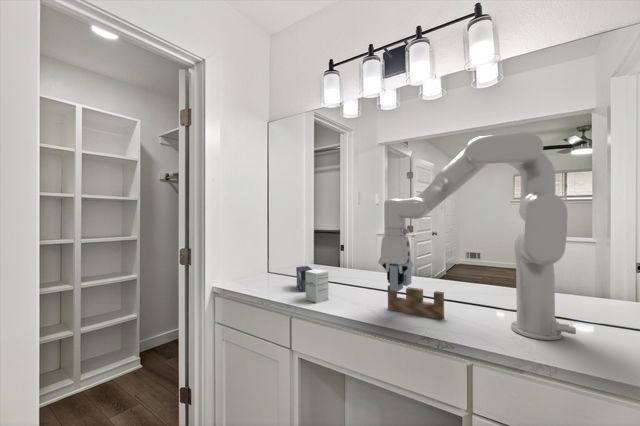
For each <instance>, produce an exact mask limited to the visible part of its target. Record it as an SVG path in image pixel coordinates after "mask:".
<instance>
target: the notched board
mask: <svg viewBox="0 0 640 426" xmlns="http://www.w3.org/2000/svg"><path fill="white" fill-rule="evenodd" d="M387 310H390V311H396V312H400V313H406V314H411V315H416V316H421V317H427V318H432V319H437V320H441V321H442V320H444V318H445V292H444V291H438V290H435V291H434V292H433V302H428V301H424V288H417V287H412V286H411V287H410V286H407V287H406V288H405V298H404V297H398V291H393V290H390V284H389V285H387Z"/></svg>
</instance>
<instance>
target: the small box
mask: <svg viewBox="0 0 640 426" xmlns="http://www.w3.org/2000/svg"><path fill="white" fill-rule="evenodd" d="M308 270H314V269H313V268H311V267H310V266H309V265H305V266H303V265H302V266H296V270H295V271H296V288H297V289H298V291H300V292H301V293H306V273H305V271H308Z"/></svg>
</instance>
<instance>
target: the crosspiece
mask: <svg viewBox="0 0 640 426" xmlns="http://www.w3.org/2000/svg"><path fill="white" fill-rule="evenodd" d="M406 265H408V263H407V264H405V266H406ZM398 273H399V266H398V264H392V265H390V283H389V285H390V290H393V291H397V292H399V291H401V290H403V289H404V286H405V287H409V285H411V284H412V267H411V268H408V269H407V270H406V271H405V272H404V282H403V283H402V284H400V285H399V284H398Z"/></svg>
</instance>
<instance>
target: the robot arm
mask: <svg viewBox="0 0 640 426" xmlns="http://www.w3.org/2000/svg"><path fill="white" fill-rule="evenodd" d="M543 150H544V142H543V139H542V138H541V137H540V136H539V135H537V134H535V133H533V132H515V133H514V132H513V133H505V134H503V133H502V134H492V135H483V136H477V137H474V138H473V139H471V140H469V142H468V143H467V145H466V147H465V148H464V149H463V150H462V151H461V152H459V154H458V155H456V156H455V158H453V159H452V160H451V161H450V162H449V163H448V164H446V166H444V167H443V168H441V170H440V171H439V172H438V173H437V174H436V176H434V179H433V180H432V182H431V183H430V184H429V185H428V186H427V187H426V188H424V190H423V191H421V192H420V193H419V194H418V195H417V196H416V197H410V198H409V197H408V198H389V199H388V198H387V199H385V200H384V204H383V205H384V206H383V209H384V210H383V214H384V216H383V217H384V221H383V222H384V225H383V227H384V233H383V234H384V235H382V238H381V247H380V257H379V259H378V262H377V263H378V264H379V265H380V266H381V267H383V269H384V270H385V272H386V280H387V283H388V284H390V265H392V264H398V266H399V273H398V284H399V285H400V284H402V283H403V282H404V272H405V271H406V270H407V269H408V268H411V269H412V267H414V263H413V261H412V254H411V246H410V239H409V236H407V235H408V234H410V230H409V229H407V227H406V225H407V224H406V223H407V221H406V219H413V220H419V219H422V218H424V217H426V216H427V215H428V214H429V213H430V212H432V211H433V210H434V209H436V207H437V206H438V205H439V206H440V204H441V203H442V202H443V201H445V200H446V199H448V197H450V196H451V195H453V194H454V193H456V192H457V191H458V190H459V189H460V188H461V187H463V186H464V185H465V184H466V183H467V182H468V181H470V179H472V178H473V177H475V175H477V174H478V173H479V172H480V171H481V170H483V168H486V166H487V165H488V164H508V165H509V166H511V167H513V168H515V170H517V171H518V173H519V175H520V198H519V208H518V213H519V215H520V218H521V219H522V220H523V221H524V231H521V232H520V233H519V234H518V235H517V236H516V238H515V240H514V257H515V273H516V277H515V279H516V280H515V281H516V282H515V283H516V286H515V287H516V320H515V321H513V322H511V323H510V328H511V330H512V331H514V332H515V333H517V334H519V335H521V336H525V337H528V338H531V339H535V340H544V341H558V340H560V339H562V338H563V333H567V334H571V335H576V334H577V331H576V330H577V329H576V327H574V326H570V324H567V323H560V322H558V321H557V318H556V303H555V302H556V298H555V297H556V296H555V295H556V293H555V292H556V291H555V289H556V287H555V286H556V285H555V283H556V279H555V278H556V277H555V265H554V264H556V263H558V262H559V261H560V260H561V259H562V258H563V256H564V254H565V251H566V247H567V244H566V243H567V233H568V218H569V217H568V216H569V214H568V208H567V205H566V202H565V201H564V199H563V198H561V197H560V196H559V195H557V194H556V172H555V171H556V170H555V167H554V164H553V162H552V160H551V159H550V158H549V157H548V156H547V155H546V154H545V153H544V152H543ZM407 263H408V265H406V266H405V264H407ZM562 332H563V333H562Z"/></svg>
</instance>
